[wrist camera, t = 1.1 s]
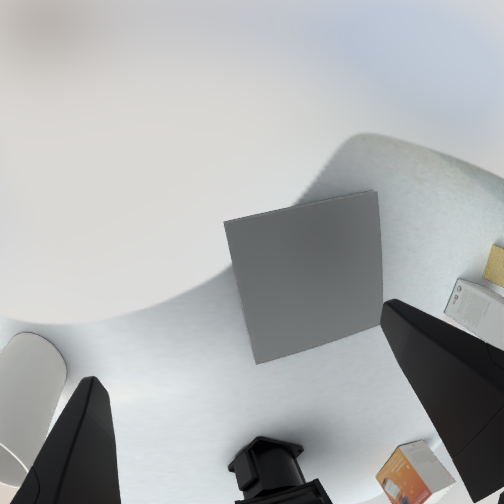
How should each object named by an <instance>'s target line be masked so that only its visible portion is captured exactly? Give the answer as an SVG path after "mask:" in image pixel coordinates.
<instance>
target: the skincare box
mask: <svg viewBox="0 0 504 504" xmlns="http://www.w3.org/2000/svg"><path fill="white" fill-rule="evenodd" d="M445 314H446V315H448V316H449V317H451V318H452V319H454V320H455V321H457V322H458V323H459V324H461V325H462V326H464V327H465V328H467V329H468V330H470V331H471V332H473V333H474V334H475V335H477V336H478V337H480V338H481V339H483V340H484V341H485V342H487V343H489V344H491V345H493V346H495V347H497V348H499V349H501V350H504V297H502V296H500V295H499V294H497V293H495V292H493V291H491V290H489V289H488V288H486V287H484V286H481V285H478V284H474V283H471V282H467V281H464V280H461V279H458V281H457V283H456V285H455V288H454V291H453V293H452V296H451V298H450V301H449V303H448V306H447V308H446V310H445Z"/></svg>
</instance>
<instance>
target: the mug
mask: <svg viewBox="0 0 504 504" xmlns="http://www.w3.org/2000/svg"><path fill="white" fill-rule="evenodd" d="M66 376H67V369H66V365H65V362H64V360H63V358H62V356H61V354H60V353H59V352H58V350H57V349H56V348H55V347H54V346H53V345H52V344H51V343H50V342H48V341H47V340H46V339H44V338H42V337H40V336H38V335H36V334H32V333H20V334H17V335H16V336H14V337H13V338H12V339H11V340H10V341H9V343H8V344H7V345H6V346H5V347H4V349H3V350H2V351H1V352H0V483H1V484H3V485H6V486H9V487H13V488H20V486H21V485H22V483H23V481H24V479H25V477H26V476H27V474H28V472H29V470H30V468H31V466H33V463H34V461H35V459H36V457H37V455H38V453H39V451H40V450H41V448H42V446H43V444H44V442H45V438H46V435H47V432H48V429H49V426H50V423H51V420H52V417H53V414H54V411H55V408H56V406H57V403H58V400H59V397H60V394H61V391H62V388H63V386H64V383H65V380H66Z"/></svg>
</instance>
